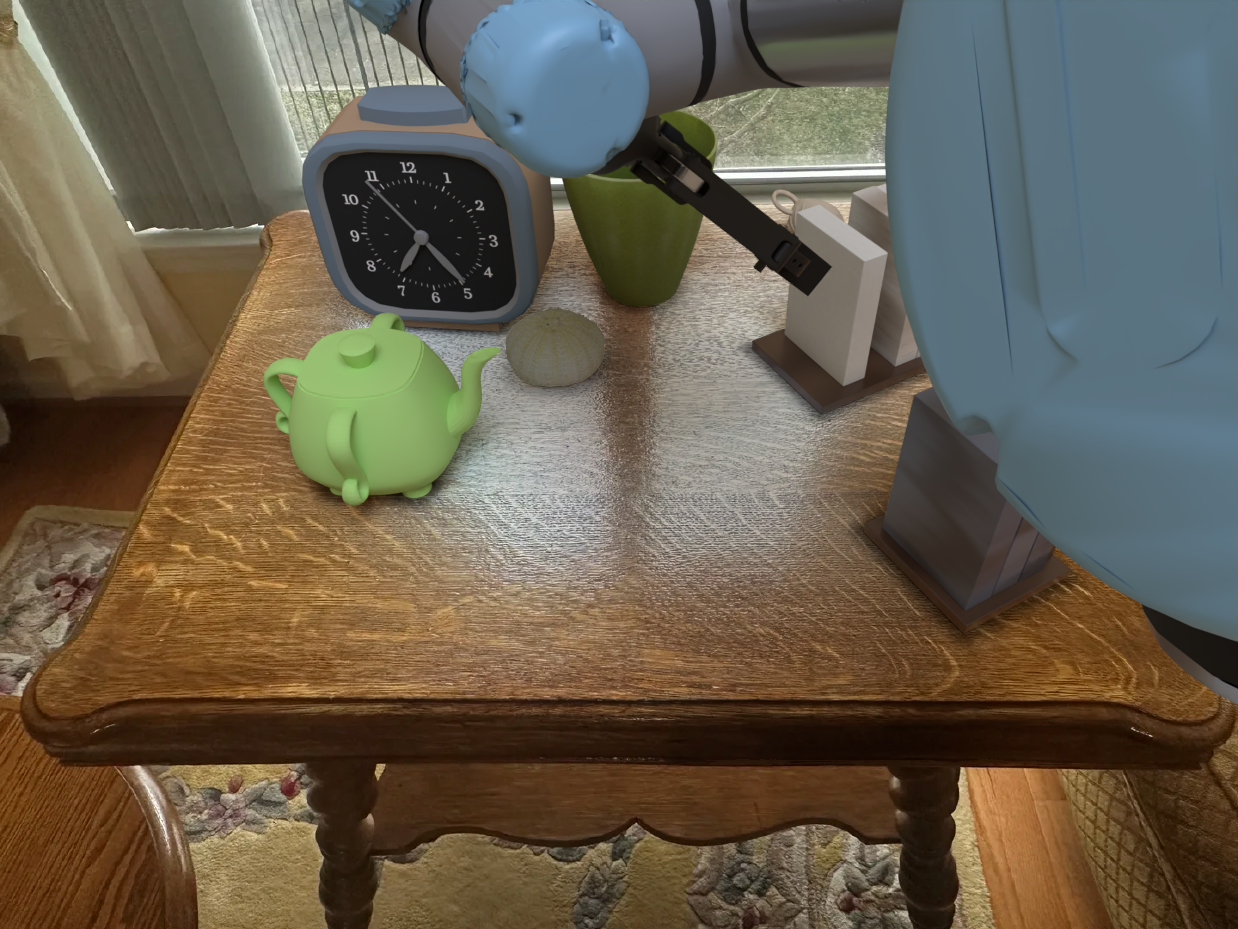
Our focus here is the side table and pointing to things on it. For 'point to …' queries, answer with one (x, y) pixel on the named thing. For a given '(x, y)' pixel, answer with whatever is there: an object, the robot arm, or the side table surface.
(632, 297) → the flower pot
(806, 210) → the white book
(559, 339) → the sea urchin shell
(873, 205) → the beige and brown bookend
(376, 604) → the side table surface
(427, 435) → the teapot
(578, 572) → the side table surface
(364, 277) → the alarm clock
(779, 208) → the decorative ornament
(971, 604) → the grey rack
